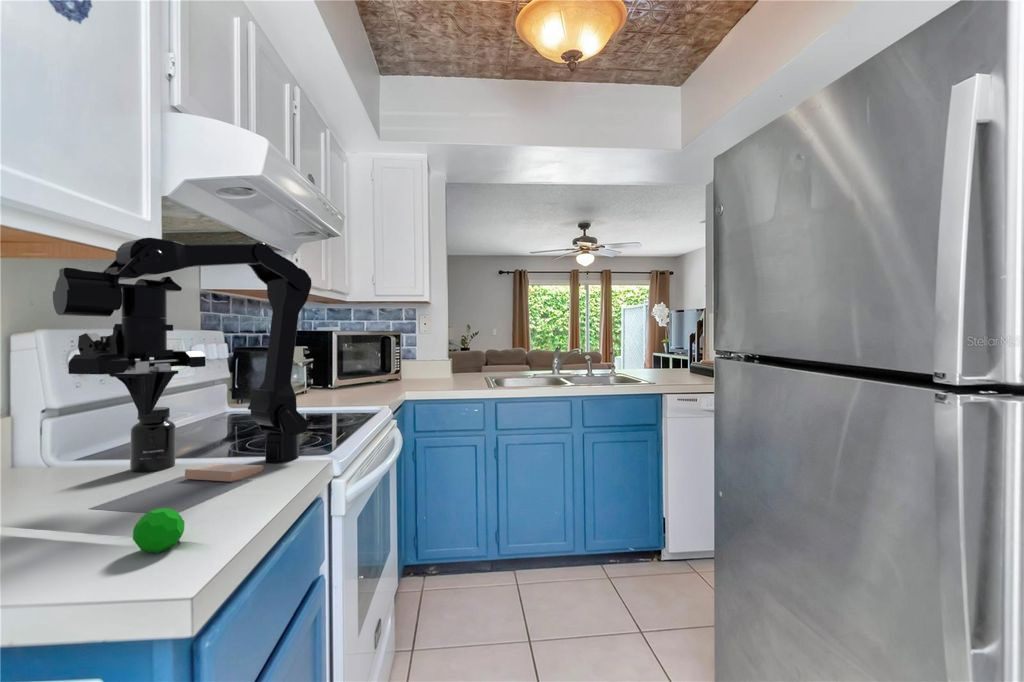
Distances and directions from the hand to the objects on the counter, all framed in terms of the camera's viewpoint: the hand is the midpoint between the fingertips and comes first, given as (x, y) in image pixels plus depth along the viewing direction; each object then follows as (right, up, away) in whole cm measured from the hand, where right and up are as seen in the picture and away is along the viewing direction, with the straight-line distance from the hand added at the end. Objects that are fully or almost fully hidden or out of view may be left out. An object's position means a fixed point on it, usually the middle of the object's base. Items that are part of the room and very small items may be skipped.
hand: (145, 415), depth 76 cm
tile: (+7, -11, +5) cm, 14 cm away
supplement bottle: (-9, -13, +14) cm, 21 cm away
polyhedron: (+16, -14, -19) cm, 28 cm away
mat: (+6, -13, -1) cm, 14 cm away
